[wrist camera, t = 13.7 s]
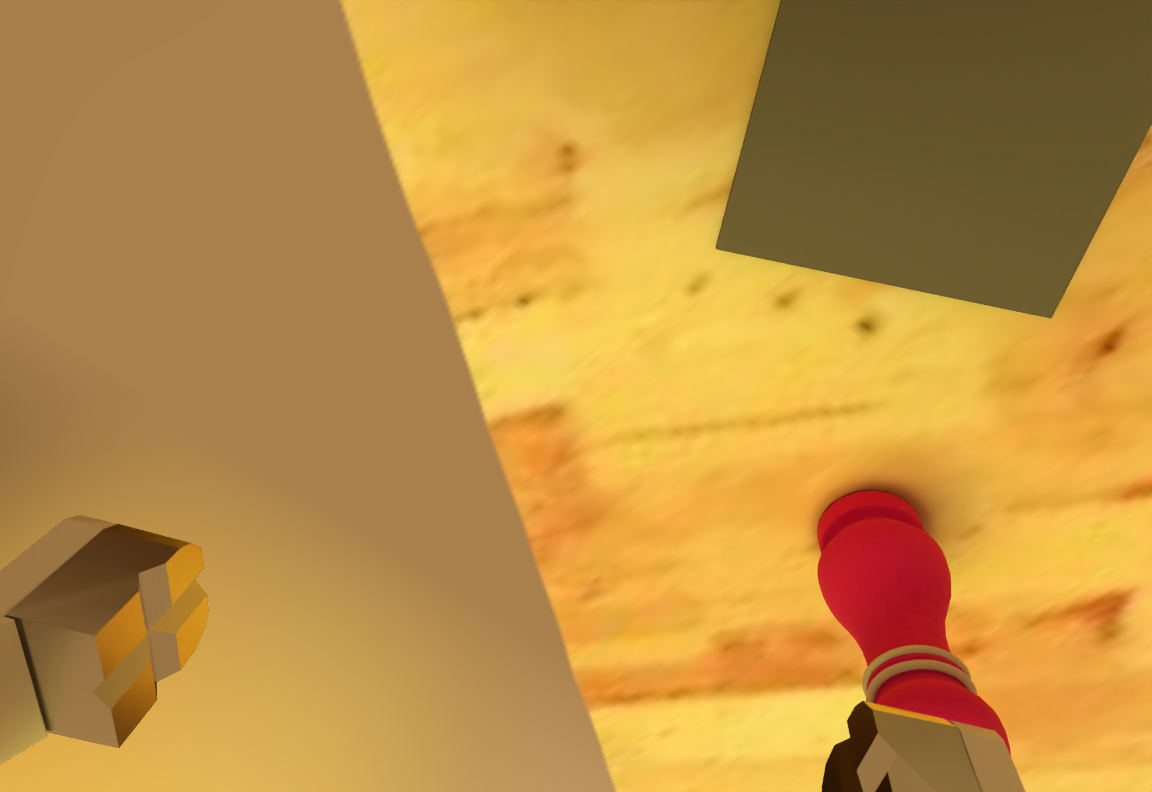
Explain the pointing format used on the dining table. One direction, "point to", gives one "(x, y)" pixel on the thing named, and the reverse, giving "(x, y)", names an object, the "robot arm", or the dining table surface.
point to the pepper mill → (897, 607)
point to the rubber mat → (943, 141)
